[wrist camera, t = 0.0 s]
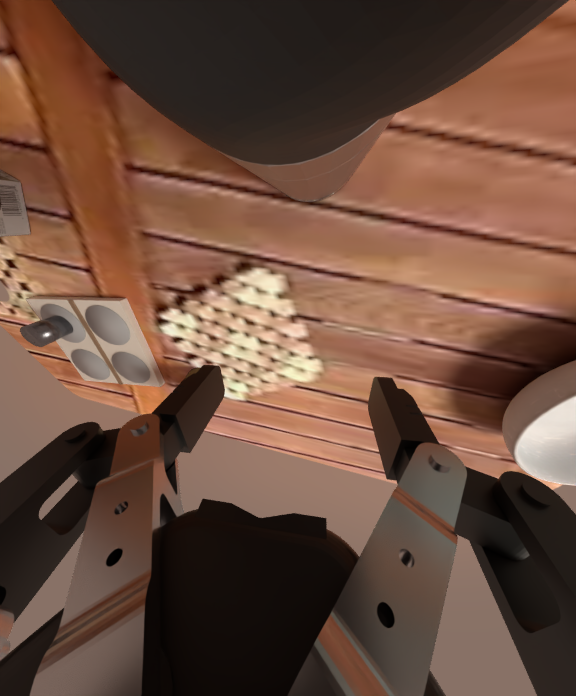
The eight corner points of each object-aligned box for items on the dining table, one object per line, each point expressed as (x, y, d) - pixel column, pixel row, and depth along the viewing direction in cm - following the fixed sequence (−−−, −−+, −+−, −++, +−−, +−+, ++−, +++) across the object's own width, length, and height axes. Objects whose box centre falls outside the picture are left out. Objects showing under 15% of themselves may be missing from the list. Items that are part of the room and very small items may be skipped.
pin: (47, 314, 31) (14, 326, 28) (65, 315, 31) (34, 327, 28) (60, 333, 33) (31, 346, 30) (77, 334, 33) (49, 347, 29)
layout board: (34, 296, 32) (23, 299, 30) (126, 298, 30) (118, 301, 28) (90, 376, 40) (83, 381, 39) (165, 382, 38) (160, 387, 37)
